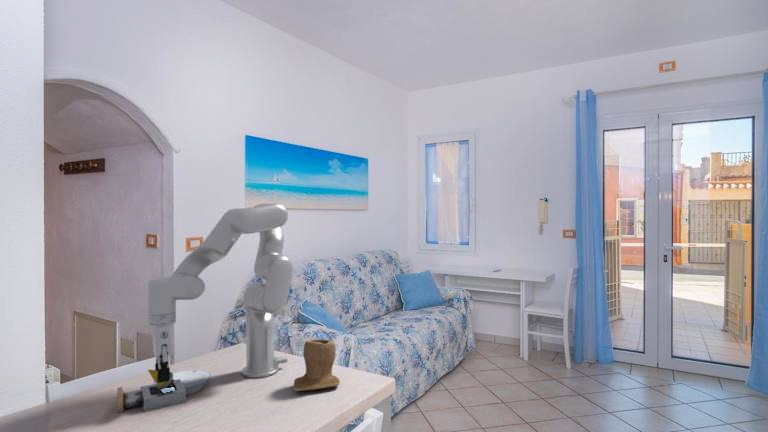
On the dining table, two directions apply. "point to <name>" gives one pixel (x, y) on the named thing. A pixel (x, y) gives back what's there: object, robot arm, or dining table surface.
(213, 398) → the dining table surface
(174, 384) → the fitting
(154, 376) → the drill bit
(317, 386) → the brown hollow boot figurine
